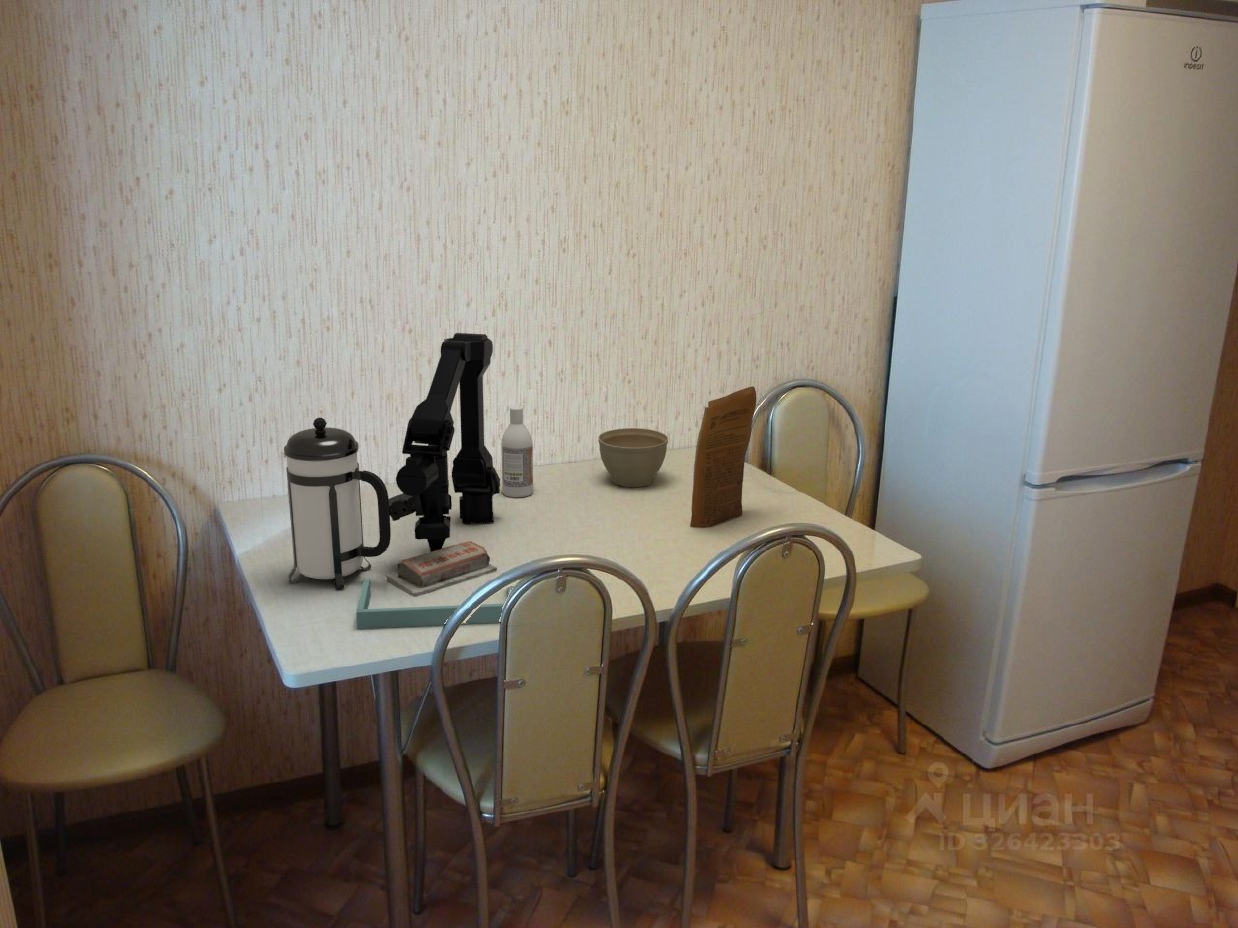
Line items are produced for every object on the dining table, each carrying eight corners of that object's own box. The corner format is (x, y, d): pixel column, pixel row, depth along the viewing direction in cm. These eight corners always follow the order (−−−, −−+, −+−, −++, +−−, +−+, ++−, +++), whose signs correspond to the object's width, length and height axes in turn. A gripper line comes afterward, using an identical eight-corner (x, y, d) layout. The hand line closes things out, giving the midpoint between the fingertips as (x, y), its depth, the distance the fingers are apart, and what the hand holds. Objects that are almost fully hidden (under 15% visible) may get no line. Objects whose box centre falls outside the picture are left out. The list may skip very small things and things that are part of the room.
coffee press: (295, 599, 189) (281, 434, 180) (283, 566, 203) (270, 411, 194) (394, 584, 196) (385, 424, 187) (376, 553, 210) (367, 403, 201)
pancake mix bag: (760, 513, 235) (767, 387, 227) (701, 534, 222) (706, 401, 214) (737, 505, 240) (743, 381, 231) (677, 525, 227) (681, 395, 219)
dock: (512, 589, 195) (512, 573, 194) (515, 621, 182) (515, 605, 181) (364, 595, 192) (363, 579, 191) (357, 628, 179) (356, 612, 178)
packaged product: (465, 534, 209) (497, 549, 202) (466, 558, 210) (497, 573, 203) (383, 557, 197) (414, 574, 190) (385, 582, 198) (415, 599, 191)
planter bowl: (589, 474, 260) (590, 430, 256) (653, 469, 264) (654, 425, 261) (609, 495, 245) (609, 449, 242) (676, 489, 250) (678, 444, 246)
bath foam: (535, 497, 243) (534, 410, 237) (504, 499, 241) (502, 412, 235) (530, 487, 249) (529, 403, 243) (500, 489, 248) (498, 404, 242)
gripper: (391, 465, 209) (395, 541, 213) (384, 496, 191) (388, 578, 196) (450, 463, 210) (452, 539, 215) (448, 494, 192) (450, 576, 197)
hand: (435, 557), depth 206 cm, fingers closed
